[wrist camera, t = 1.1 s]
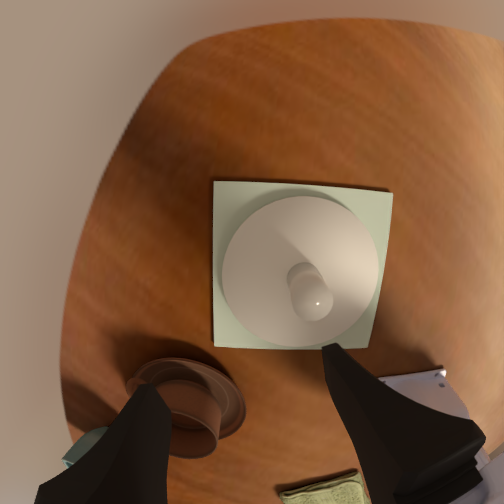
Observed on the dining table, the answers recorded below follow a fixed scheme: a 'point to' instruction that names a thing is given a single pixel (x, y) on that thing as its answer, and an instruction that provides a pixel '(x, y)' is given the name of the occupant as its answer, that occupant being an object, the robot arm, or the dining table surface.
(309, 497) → the washcloth
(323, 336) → the lid
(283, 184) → the plate
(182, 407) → the cup and saucer
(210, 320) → the dining table surface
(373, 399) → the robot arm
